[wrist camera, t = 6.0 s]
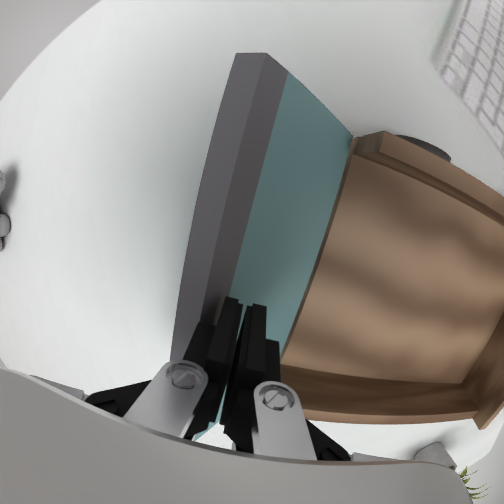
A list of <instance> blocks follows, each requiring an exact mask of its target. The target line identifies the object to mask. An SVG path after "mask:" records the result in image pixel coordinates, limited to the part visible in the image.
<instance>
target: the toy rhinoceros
mask: <svg viewBox="0 0 504 504" xmlns="http://www.w3.org/2000/svg"><path fill="white" fill-rule="evenodd" d="M5 184H6V178H5V175H4V173H3V172H2V171H0V194H1V193H2V191H3V190H4V188H5ZM9 230H10V223H9V219H8V217H7V216H6V215H4V214H0V251H1V250H2V239H1V237H3V236H5V235H7V234H8V233H9Z"/></svg>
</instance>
